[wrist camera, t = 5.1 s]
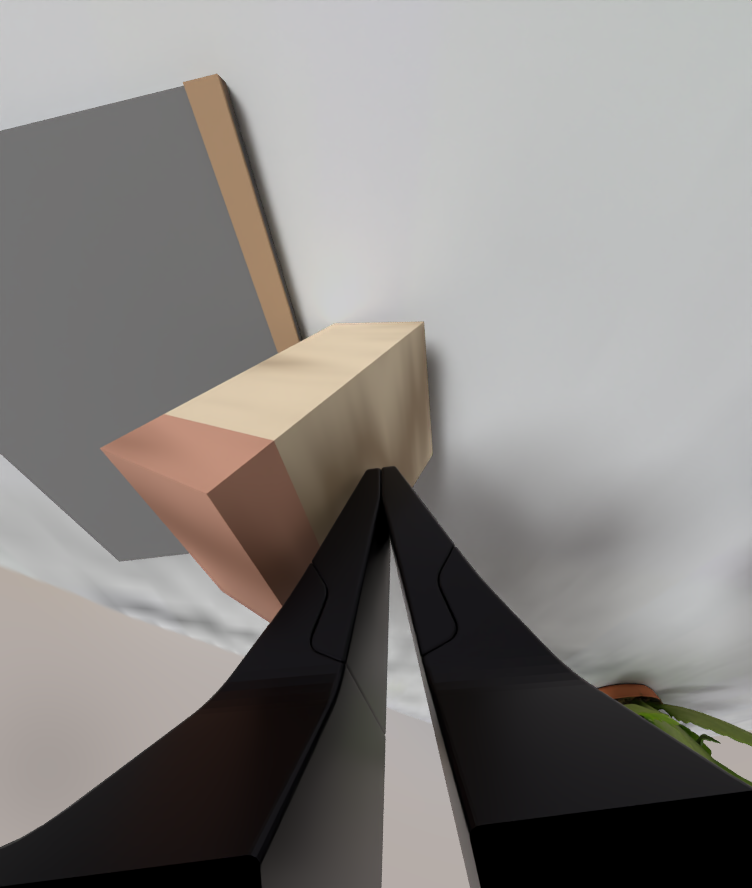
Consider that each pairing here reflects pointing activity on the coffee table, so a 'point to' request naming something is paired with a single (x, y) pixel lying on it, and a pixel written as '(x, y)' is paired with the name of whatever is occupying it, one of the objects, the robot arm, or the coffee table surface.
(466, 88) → the coffee table surface
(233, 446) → the maple block
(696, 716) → the potted flower
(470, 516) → the coffee table surface
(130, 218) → the mat
